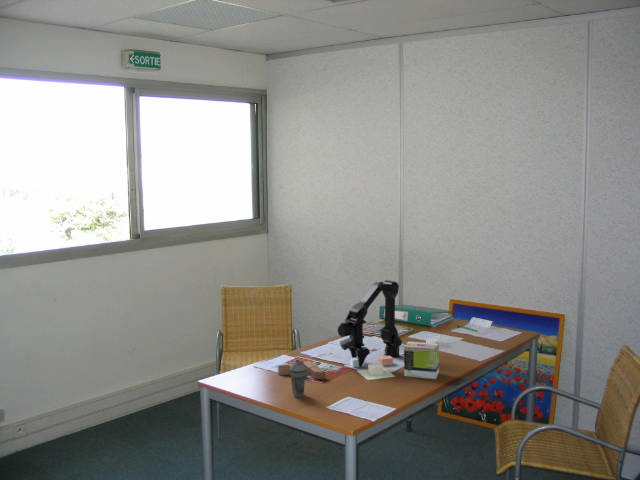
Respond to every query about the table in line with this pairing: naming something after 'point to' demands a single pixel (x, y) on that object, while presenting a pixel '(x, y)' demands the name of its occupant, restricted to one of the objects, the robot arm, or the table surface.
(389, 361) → the brick rust
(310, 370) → the wooden block set
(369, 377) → the baseplate
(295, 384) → the beverage cup
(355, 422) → the table surface
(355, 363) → the brick blue
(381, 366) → the brick cream
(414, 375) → the tea box
